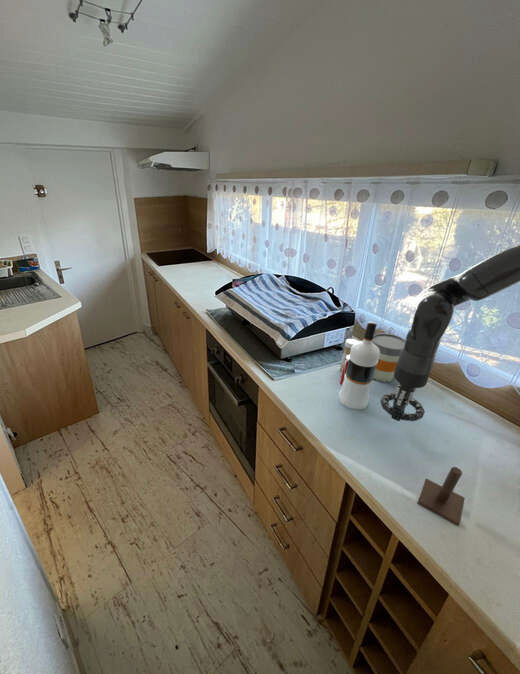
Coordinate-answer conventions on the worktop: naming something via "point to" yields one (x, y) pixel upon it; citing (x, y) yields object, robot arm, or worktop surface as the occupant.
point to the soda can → (344, 370)
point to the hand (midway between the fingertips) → (397, 416)
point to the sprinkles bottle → (347, 350)
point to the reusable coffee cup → (387, 355)
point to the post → (443, 497)
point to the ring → (405, 416)
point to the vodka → (360, 371)
